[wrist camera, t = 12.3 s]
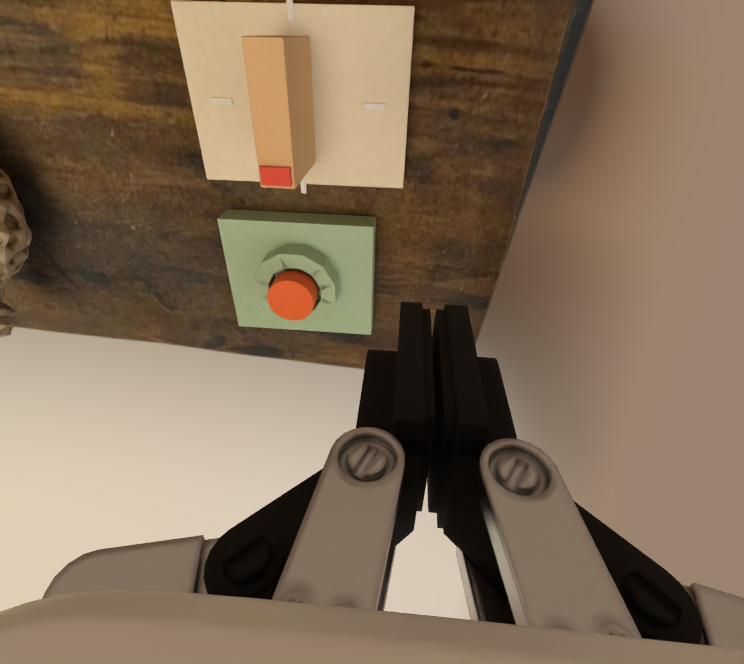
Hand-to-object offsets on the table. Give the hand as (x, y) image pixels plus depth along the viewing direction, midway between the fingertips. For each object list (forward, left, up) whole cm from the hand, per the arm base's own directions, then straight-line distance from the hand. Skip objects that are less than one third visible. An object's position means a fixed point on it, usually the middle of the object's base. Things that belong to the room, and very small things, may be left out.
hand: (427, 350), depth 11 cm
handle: (+8, -3, -21) cm, 22 cm away
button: (+9, +10, -20) cm, 24 cm away
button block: (+9, +10, -23) cm, 27 cm away
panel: (+8, -3, -23) cm, 25 cm away
